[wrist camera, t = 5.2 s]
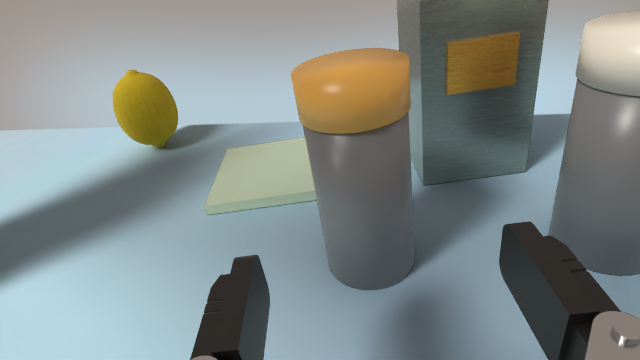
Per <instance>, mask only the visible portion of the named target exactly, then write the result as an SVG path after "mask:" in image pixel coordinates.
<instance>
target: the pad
mask: <svg viewBox="0 0 640 360" xmlns="http://www.w3.org/2000/svg"><path fill="white" fill-rule="evenodd" d="M313 200H317V198H316V192H315V187H314V182H313V177H312V171H311V166H310V161H309V155H308V150H307V145H306V140H305V137H304V138H297V139H290V140H283V141H277V142H270V143H263V144H256V145H249V146H242V147H236V148H229V149H227V150H226V153H225V155H224V158H223V160H222V163H221V165H220V168H219V170H218V173H217V175H216V178H215V181H214V183H213V186H212V188H211V191H210V193H209V196H208V198H207V201H206V203H205V209H206V212H207V214H208V215H211V214H218V213H225V212H233V211H240V210H247V209H255V208H262V207H269V206H277V205H284V204H291V203H299V202H306V201H313Z"/></svg>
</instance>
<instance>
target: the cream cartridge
mask: <svg viewBox="0 0 640 360" xmlns="http://www.w3.org/2000/svg"><path fill="white" fill-rule="evenodd" d="M576 77H577V84H576V89H575V94H574V99H573V106H572V110H571V116H570V121H569V126H568V132H567V137H566V142H565V148H564V153H563V158H562V164H561V169H560V174H559V180H558V185H557V190H556V196H555V201H554V206H553V212H552V217H551V222H550V228H549V236H553V237H554V238H556V239H557V240H559V241H560V242H562V243H564V244H565V245H567V246H568V248H569V249H570V250H571V251H572V252H573V254H574V255H575V256H576V257H577V260H578V261H580V262H581V263H582V265H583V266H584V267H585V268H586V269H588V270H591V271H595V272H599V273H603V274H609V275H635V274H640V10H637V11H629V12H621V13H615V14H610V15H605V16H601V17H598V18H595V19H592V20H590V21H589V22H587V23H586V24H585V26H584V32H583V36H582V42H581V48H580V53H579V58H578V64H577V69H576Z"/></svg>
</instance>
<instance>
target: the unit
mask: <svg viewBox="0 0 640 360" xmlns="http://www.w3.org/2000/svg"><path fill="white" fill-rule="evenodd" d="M548 1H549V0H397V15H398V36H399V51H401V52H404V53H405V54H407V55H408V57H409V70H410V98H411V107H410V110H409V133H410V157H411V159H412V162H413V164H414V166H415V168H416V170H417V173H418V175H419V177H420V179H421V182H422V184H423V185H430V184H438V183H445V182H452V181H460V180H467V179H474V178H482V177H489V176H496V175H504V174H511V173H518V172H526V165H527V158H528V150H529V143H530V135H531V128H532V121H533V113H534V106H535V98H536V91H537V83H538V76H539V69H540V61H541V54H542V46H543V38H544V32H545V24H546V17H547V9H548Z"/></svg>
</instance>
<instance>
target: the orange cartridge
mask: <svg viewBox="0 0 640 360" xmlns="http://www.w3.org/2000/svg"><path fill="white" fill-rule="evenodd" d="M291 78H292V83H293V89H294V94H295V99H296V104H297V109H298V115H299V120H300V122H301V123H302V124H303V129H304V134H305V140H306V145H307V150H308V155H309V161H310V166H311V171H312V177H313V182H314V187H315V192H316V198H317V203H318V208H319V214H320V219H321V224H322V230H323V235H324V240H325V245H326V251H327V256H328V261H329V267H330V270H331V272H332V273H333V275H334V276H335V277H336V278H337V279H338V280H339V281H340V282H342V283H343V284H345V285H347V286H350V287H353V288H356V289H362V290H377V289H383V288H387V287H390V286H392V285H395V284H396V283H398V282H400V281H401V280H403V279H404V278H405V277H406V276H407V275H408V274H409V273H410V271H411V269H412V268H413V265H414V236H413V210H412V184H411V158H410V133H409V110H410V107H411V98H410V70H409V57H408V55H407V54H405V53H404V52H401V51H397V50H393V49H385V48H365V49H353V50H346V51H340V52H335V53H330V54H327V55H323V56H319V57H316V58H313V59H311V60H309V61H306V62H304V63H302V64H300V65H298V66H297V67H296V68H295V69H293V71H292V73H291Z"/></svg>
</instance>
